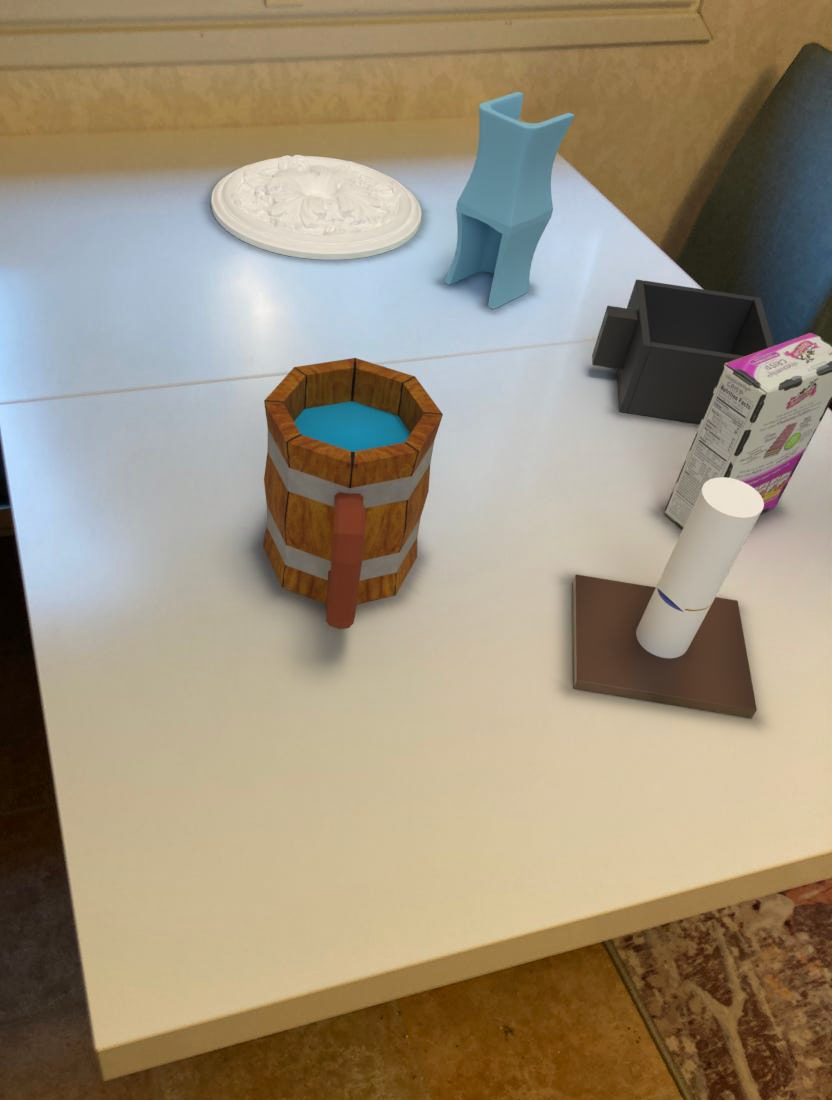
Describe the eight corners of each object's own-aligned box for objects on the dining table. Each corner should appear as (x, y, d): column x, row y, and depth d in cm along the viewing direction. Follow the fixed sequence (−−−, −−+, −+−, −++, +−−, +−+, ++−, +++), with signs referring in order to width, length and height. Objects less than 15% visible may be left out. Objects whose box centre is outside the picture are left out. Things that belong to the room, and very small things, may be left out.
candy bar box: (738, 478, 93) (812, 329, 80) (776, 508, 90) (859, 358, 78) (658, 512, 88) (723, 359, 76) (696, 544, 86) (770, 391, 73)
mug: (268, 496, 85) (270, 350, 74) (414, 506, 86) (438, 364, 75) (249, 660, 72) (248, 515, 61) (421, 671, 73) (452, 529, 62)
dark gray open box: (732, 362, 107) (760, 297, 101) (747, 431, 98) (780, 365, 92) (587, 340, 108) (607, 274, 102) (589, 407, 99) (611, 339, 93)
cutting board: (733, 608, 80) (738, 600, 80) (752, 718, 72) (757, 710, 72) (572, 582, 81) (575, 574, 80) (573, 688, 73) (576, 680, 72)
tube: (688, 625, 77) (762, 484, 66) (688, 663, 74) (765, 523, 63) (636, 614, 78) (701, 472, 66) (635, 651, 75) (702, 510, 64)
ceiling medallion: (273, 147, 136) (274, 124, 134) (450, 197, 130) (454, 174, 128) (170, 220, 119) (169, 195, 116) (369, 281, 113) (371, 256, 110)
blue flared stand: (533, 289, 115) (575, 114, 100) (493, 309, 111) (530, 130, 96) (485, 264, 118) (518, 91, 103) (444, 282, 114) (473, 105, 99)
